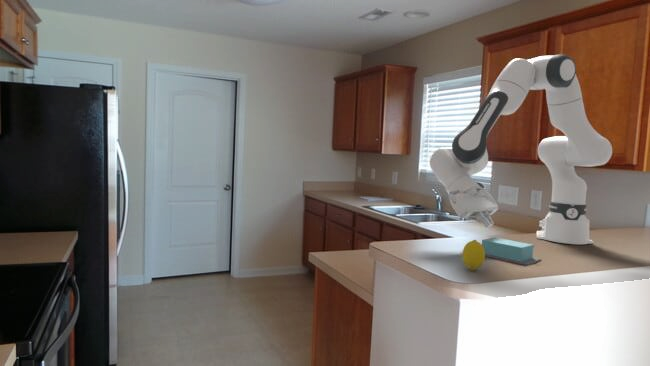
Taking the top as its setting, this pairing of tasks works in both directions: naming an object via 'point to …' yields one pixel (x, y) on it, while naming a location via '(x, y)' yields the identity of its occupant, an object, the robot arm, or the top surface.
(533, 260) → the mat
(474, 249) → the lemon
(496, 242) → the teal block
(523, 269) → the top surface
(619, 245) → the top surface
